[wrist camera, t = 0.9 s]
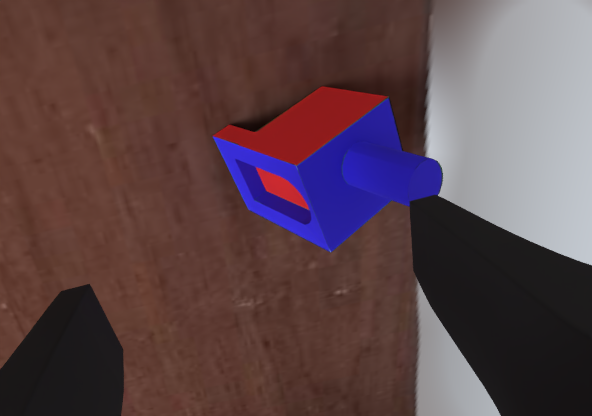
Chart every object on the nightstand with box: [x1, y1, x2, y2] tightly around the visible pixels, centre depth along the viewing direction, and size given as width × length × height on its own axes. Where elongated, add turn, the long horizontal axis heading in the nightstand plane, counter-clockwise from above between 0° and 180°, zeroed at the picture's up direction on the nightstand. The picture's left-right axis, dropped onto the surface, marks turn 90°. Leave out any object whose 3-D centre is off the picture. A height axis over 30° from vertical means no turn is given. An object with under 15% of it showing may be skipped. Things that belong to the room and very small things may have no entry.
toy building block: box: [213, 86, 443, 252], centre depth 18 cm, size 4×4×8 cm
